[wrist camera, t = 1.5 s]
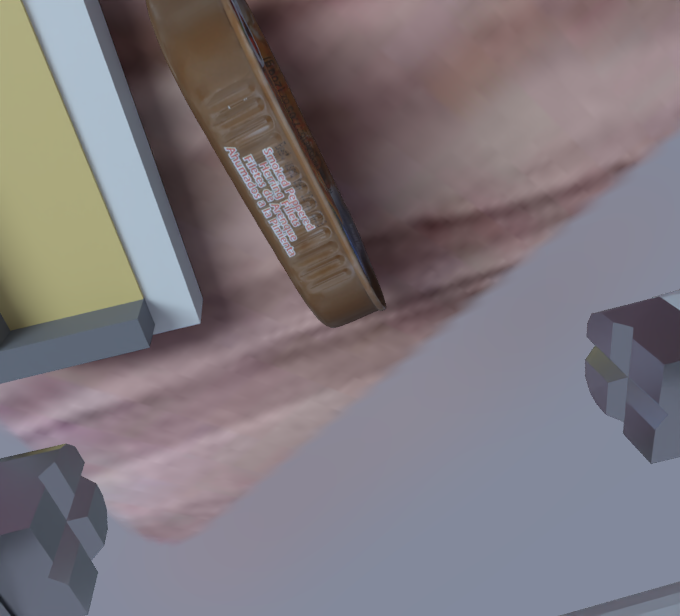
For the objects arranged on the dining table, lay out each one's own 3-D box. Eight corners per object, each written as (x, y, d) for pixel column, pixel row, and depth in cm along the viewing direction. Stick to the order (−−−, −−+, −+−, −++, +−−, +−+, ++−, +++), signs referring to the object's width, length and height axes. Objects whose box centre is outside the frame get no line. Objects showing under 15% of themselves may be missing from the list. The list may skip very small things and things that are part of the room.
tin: (370, 256, 30) (415, 341, 22) (316, 283, 30) (343, 375, 22) (219, -56, 22) (213, -83, 15) (149, -17, 22) (108, -24, 15)
